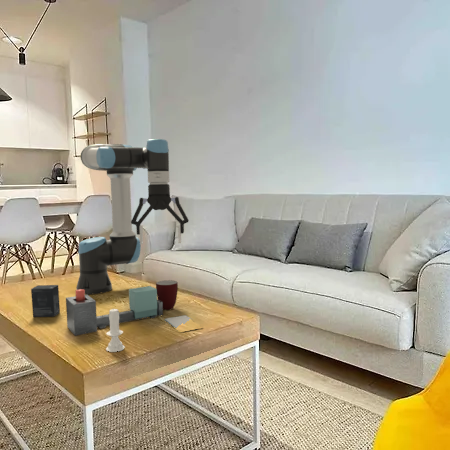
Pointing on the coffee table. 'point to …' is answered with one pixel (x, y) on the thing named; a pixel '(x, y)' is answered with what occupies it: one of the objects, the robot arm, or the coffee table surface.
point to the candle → (114, 332)
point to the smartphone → (177, 320)
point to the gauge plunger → (80, 295)
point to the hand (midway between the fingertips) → (160, 243)
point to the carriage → (143, 301)
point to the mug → (167, 293)
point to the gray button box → (81, 315)
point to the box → (45, 300)
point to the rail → (126, 316)
